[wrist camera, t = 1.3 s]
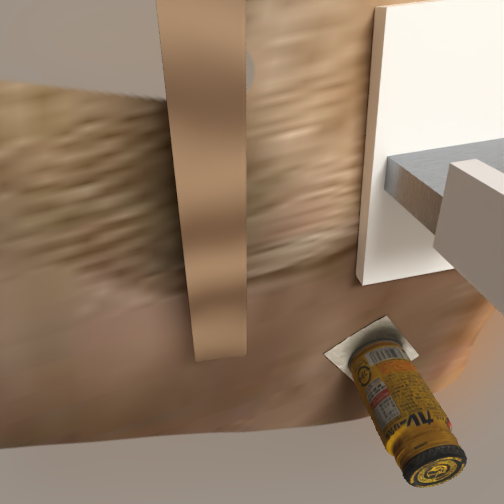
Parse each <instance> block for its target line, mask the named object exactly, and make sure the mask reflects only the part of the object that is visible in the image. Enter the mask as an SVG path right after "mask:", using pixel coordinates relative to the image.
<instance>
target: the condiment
mask: <svg viewBox="0 0 504 504" xmlns="http://www.w3.org/2000/svg"><path fill="white" fill-rule="evenodd" d="M324 355H325V356H326V357H327V358H328V359H330V360H331V361H332V362H333V363H334V364H335V365H336V366H337V367H338V368H339V369H341V370H342V371H343V372H344V373H345V374H346V375H347V376H348V377H349V378H351V379H352V380H353V381H354V382H355V385H356V387H357V390H358V392H359V394H360V396H361V398H362V400H363V402H364V404H365V406H366V408H367V410H368V413H369V414H370V416H371V419H372V420H373V423H374V425H375V428H376V431H377V432H378V434H379V436H380V438H381V440H382V442H383V444H384V446H385V449H386V450H387V452H388V453H389V454H391V455H392V456H394V457H395V460H396V462H397V465H398V466H399V467H400V469H401V471H402V473H403V476H404V479H406V481H407V482H408V483H409V484H410V485H412V486H415V487H421V488H422V487H431V486H435V485H439V484H442V483H444V482H446V481H449V480H450V479H452V478H454V477H455V476H457V475H458V474H459V473H460V472H461V471H462V470H463V468H464V467H465V465H466V460H467V458H466V456H465V453H464V451H463V450H462V448H461V447H460V446H459V445H458V442H457V439H456V437H455V436H454V435H453V434H452V433H451V431H452V427H451V423H450V421H449V419H448V417H447V415H446V414H445V412H444V411H443V409H442V408H441V406H440V405H439V403H438V402H437V400H436V399H435V397H434V396H433V394H432V393H431V391H430V389H429V388H428V386H427V385H426V383H425V382H424V380H423V379H422V377H421V375H420V374H419V372H418V371H417V369H416V368H415V366H414V365H413V363H412V361H411V360H413V359H415V358H416V357H418V356H419V355H418V354H417V352H416V351H415V350H414V349H413V347H412V346H411V345H410V344H409V342H408V341H407V340H406V339H405V338H404V336H403V335H402V334H401V333H400V332H399V330H398V329H397V328H396V327H395V325H394V324H393V323H392V322H391V321H390V319H389V318H388V317H387V316H385V317H383V318H381V319H380V320H377V321H375V322H374V323H372V324H370V325H368V326H367V327H366V328H363V329H362V330H360V331H358V332H357V333H355V334H354V335H352V336H351V337H348V338H347V339H346V340H345V341H343V342H342V343H340V344H338V345H336V346H335V347H333V348H332V349H331V350H329V351H328V352H326V353H325V354H324Z"/></svg>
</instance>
